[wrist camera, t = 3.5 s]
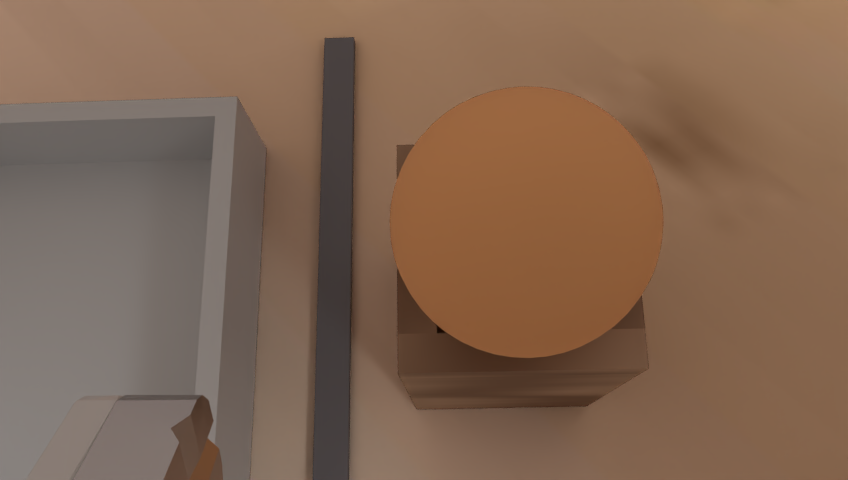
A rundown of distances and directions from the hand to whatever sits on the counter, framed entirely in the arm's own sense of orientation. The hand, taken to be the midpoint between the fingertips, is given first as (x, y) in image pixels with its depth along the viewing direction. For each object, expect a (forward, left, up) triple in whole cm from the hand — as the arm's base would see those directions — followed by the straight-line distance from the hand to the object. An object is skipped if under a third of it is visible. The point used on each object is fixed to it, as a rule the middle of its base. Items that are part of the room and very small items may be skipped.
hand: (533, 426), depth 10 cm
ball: (0, -4, -4) cm, 6 cm away
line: (+5, -3, -13) cm, 14 cm away
